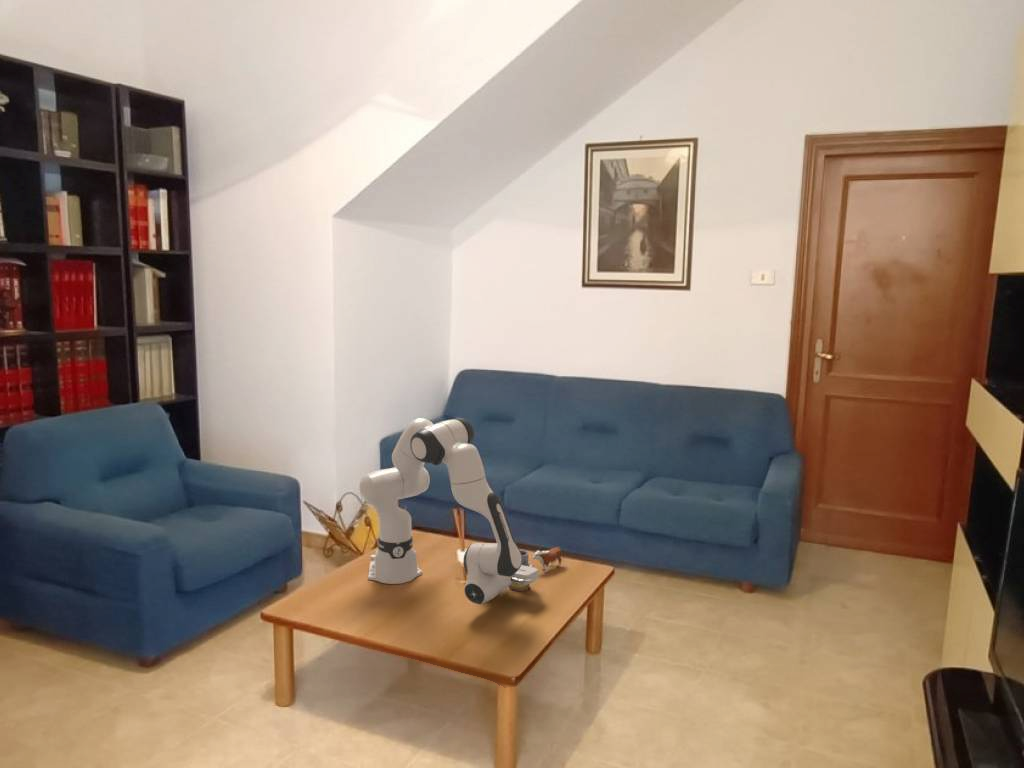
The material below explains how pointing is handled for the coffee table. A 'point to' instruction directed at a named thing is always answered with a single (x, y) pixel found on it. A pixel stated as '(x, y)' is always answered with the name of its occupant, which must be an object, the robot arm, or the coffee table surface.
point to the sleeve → (524, 562)
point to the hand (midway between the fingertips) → (519, 563)
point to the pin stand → (519, 588)
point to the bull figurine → (548, 557)
